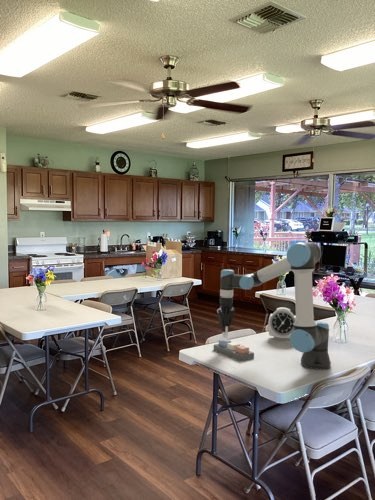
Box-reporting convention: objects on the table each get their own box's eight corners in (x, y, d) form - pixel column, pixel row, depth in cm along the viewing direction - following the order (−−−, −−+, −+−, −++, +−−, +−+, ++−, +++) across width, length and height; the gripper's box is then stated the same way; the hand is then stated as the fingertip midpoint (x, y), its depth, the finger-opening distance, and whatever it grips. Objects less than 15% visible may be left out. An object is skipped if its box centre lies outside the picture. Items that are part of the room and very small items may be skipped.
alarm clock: (267, 339, 274) (268, 308, 272) (268, 336, 282) (269, 305, 281) (296, 342, 269) (298, 310, 268) (296, 338, 278) (297, 307, 276)
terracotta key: (248, 353, 235) (249, 347, 235) (242, 354, 232) (242, 348, 232) (242, 350, 239) (242, 345, 239) (235, 352, 236) (236, 346, 236)
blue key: (230, 346, 247) (231, 340, 247) (224, 347, 244) (224, 342, 244) (225, 343, 251) (225, 338, 251) (218, 345, 248) (218, 340, 248)
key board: (253, 358, 235) (254, 352, 235) (240, 361, 230) (240, 355, 229) (226, 347, 254) (227, 342, 254) (213, 349, 248) (213, 344, 248)
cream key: (239, 349, 241) (239, 344, 241) (232, 350, 238) (233, 345, 238) (233, 347, 245) (234, 342, 245) (227, 348, 242) (227, 343, 242)
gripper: (230, 294, 253) (229, 334, 254) (213, 296, 245) (212, 337, 247) (239, 296, 247) (237, 337, 248) (221, 298, 239) (220, 340, 241)
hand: (224, 337), depth 248 cm, fingers closed
